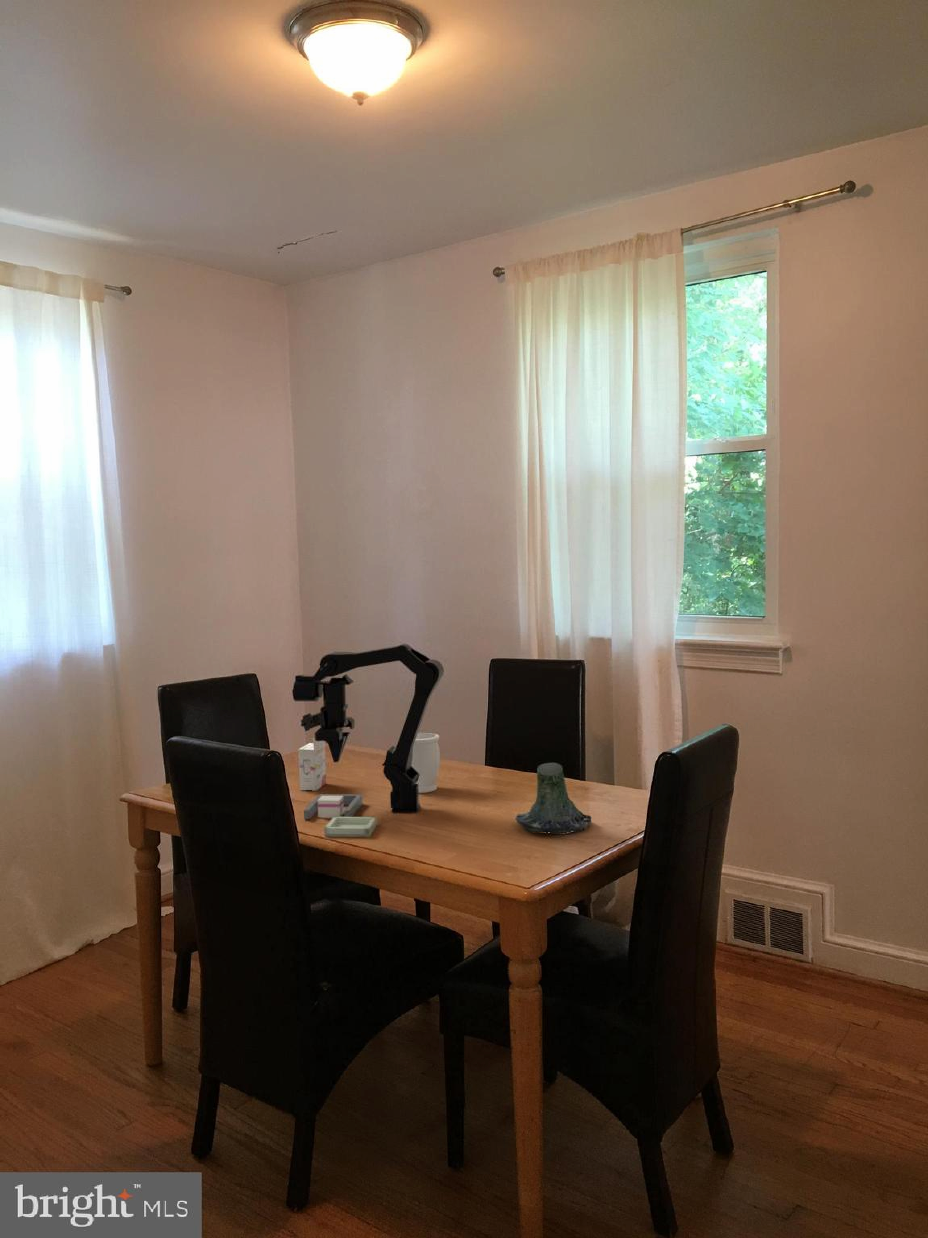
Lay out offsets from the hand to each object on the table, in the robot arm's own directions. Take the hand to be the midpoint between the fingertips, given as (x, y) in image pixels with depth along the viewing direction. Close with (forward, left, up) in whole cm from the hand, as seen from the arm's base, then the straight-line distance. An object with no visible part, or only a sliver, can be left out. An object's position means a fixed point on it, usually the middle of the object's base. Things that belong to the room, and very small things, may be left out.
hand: (336, 761), depth 250 cm
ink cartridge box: (+12, -21, -12) cm, 27 cm away
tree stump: (-56, +14, -12) cm, 59 cm away
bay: (0, +4, -12) cm, 13 cm away
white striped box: (0, +7, -12) cm, 14 cm away
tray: (-8, +20, -12) cm, 25 cm away
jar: (-19, -19, -12) cm, 30 cm away
